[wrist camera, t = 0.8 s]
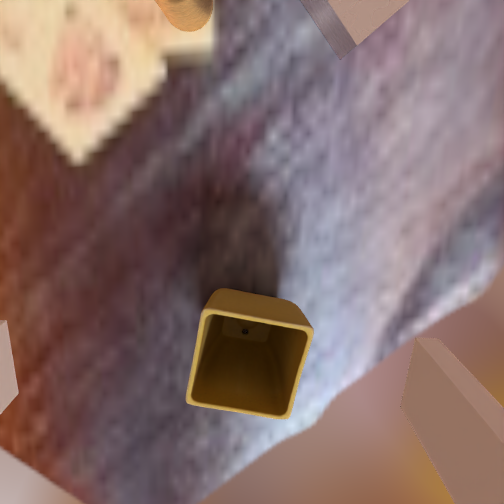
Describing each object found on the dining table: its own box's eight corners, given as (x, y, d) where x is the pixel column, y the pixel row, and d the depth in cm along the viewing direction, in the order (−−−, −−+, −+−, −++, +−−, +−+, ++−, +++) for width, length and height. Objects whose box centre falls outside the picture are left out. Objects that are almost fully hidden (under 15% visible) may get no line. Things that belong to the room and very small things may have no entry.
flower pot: (213, 266, 36) (202, 307, 27) (300, 283, 36) (316, 328, 28) (198, 344, 38) (184, 404, 30) (280, 359, 39) (289, 422, 30)
